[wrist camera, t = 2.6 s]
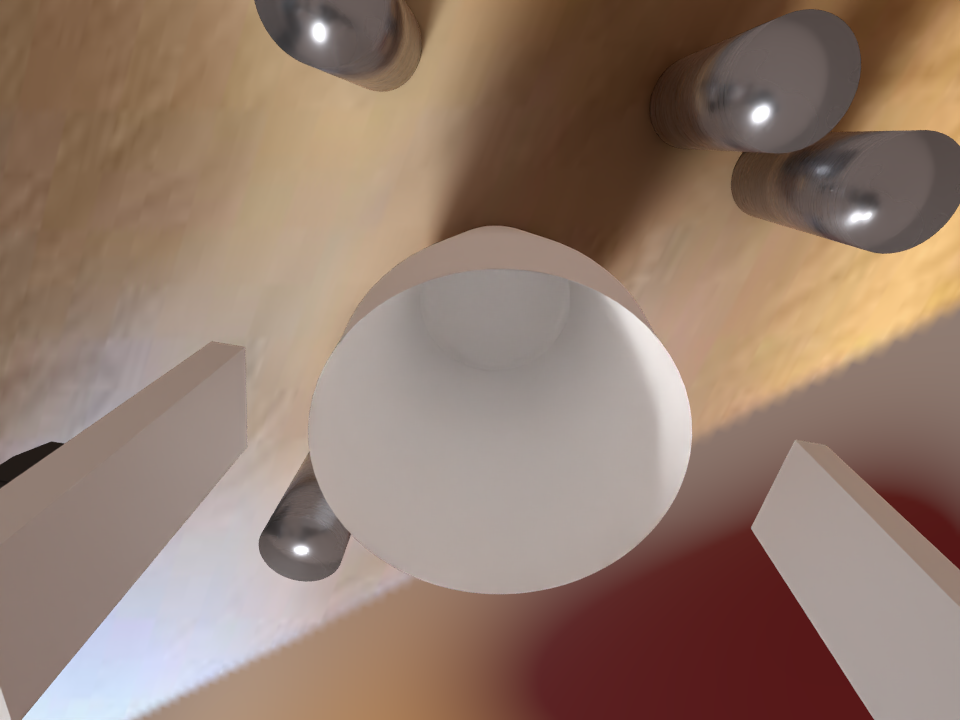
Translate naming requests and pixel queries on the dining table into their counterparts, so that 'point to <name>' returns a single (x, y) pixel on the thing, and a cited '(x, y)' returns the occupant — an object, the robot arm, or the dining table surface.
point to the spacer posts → (680, 123)
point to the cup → (499, 416)
